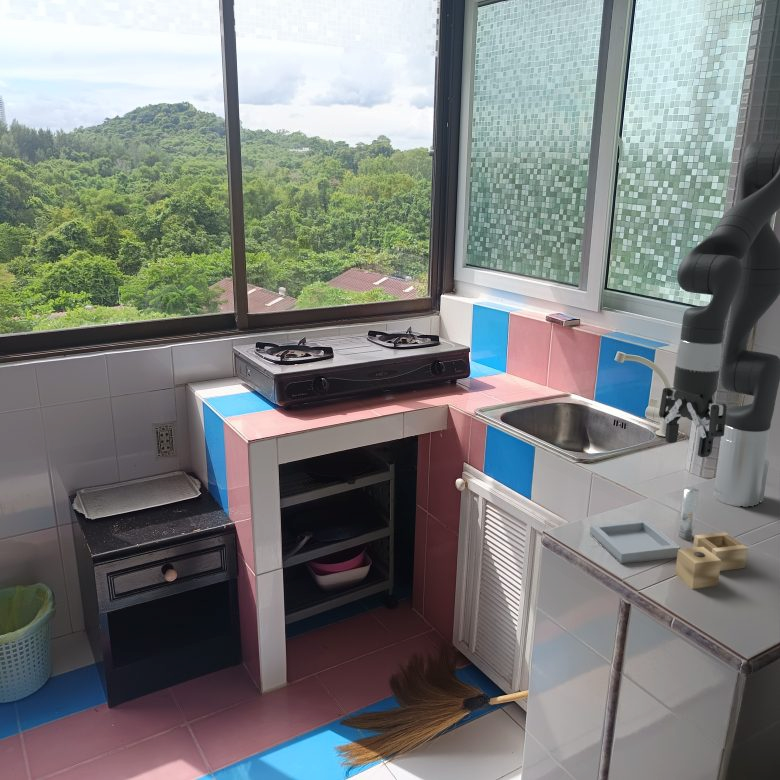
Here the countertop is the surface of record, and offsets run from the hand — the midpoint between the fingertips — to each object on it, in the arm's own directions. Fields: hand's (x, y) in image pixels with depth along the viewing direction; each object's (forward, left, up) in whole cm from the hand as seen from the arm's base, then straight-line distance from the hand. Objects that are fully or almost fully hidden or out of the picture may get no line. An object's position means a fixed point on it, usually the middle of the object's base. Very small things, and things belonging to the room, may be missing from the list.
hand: (686, 449), depth 139 cm
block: (+5, +14, -19) cm, 24 cm away
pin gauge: (-3, -1, -19) cm, 19 cm away
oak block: (-3, +9, -19) cm, 21 cm away
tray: (+9, 0, -19) cm, 21 cm away
